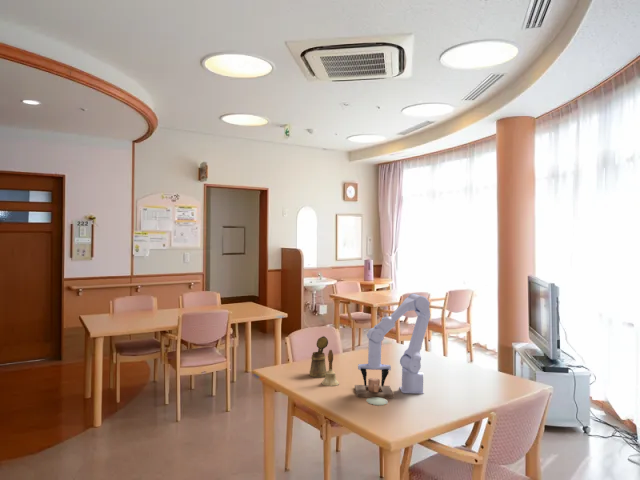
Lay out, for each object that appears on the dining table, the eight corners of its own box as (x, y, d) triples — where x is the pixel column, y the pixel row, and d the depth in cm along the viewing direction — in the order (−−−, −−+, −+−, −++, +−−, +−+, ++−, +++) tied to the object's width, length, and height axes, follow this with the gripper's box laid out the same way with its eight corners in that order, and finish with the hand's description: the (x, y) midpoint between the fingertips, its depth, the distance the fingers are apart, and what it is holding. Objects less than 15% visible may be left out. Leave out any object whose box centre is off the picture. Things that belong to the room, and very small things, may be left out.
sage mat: (385, 398, 196) (385, 397, 196) (389, 405, 187) (389, 405, 187) (365, 397, 195) (365, 396, 195) (367, 405, 186) (367, 404, 186)
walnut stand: (389, 388, 208) (389, 385, 208) (393, 397, 196) (393, 394, 196) (354, 388, 208) (354, 384, 208) (357, 397, 196) (357, 393, 196)
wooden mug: (331, 371, 234) (332, 336, 234) (324, 378, 221) (325, 342, 221) (315, 369, 236) (316, 335, 237) (306, 376, 223) (307, 340, 224)
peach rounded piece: (367, 391, 204) (367, 377, 204) (378, 391, 205) (378, 378, 205) (370, 397, 195) (370, 384, 195) (381, 398, 196) (381, 384, 196)
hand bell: (324, 386, 209) (325, 352, 209) (319, 381, 217) (320, 348, 217) (341, 385, 211) (342, 351, 211) (336, 380, 219) (337, 347, 219)
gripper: (389, 353, 206) (388, 383, 206) (357, 352, 206) (356, 382, 206) (392, 357, 199) (391, 388, 199) (359, 356, 199) (358, 387, 199)
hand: (373, 385), depth 202 cm, fingers open, 7 cm apart
